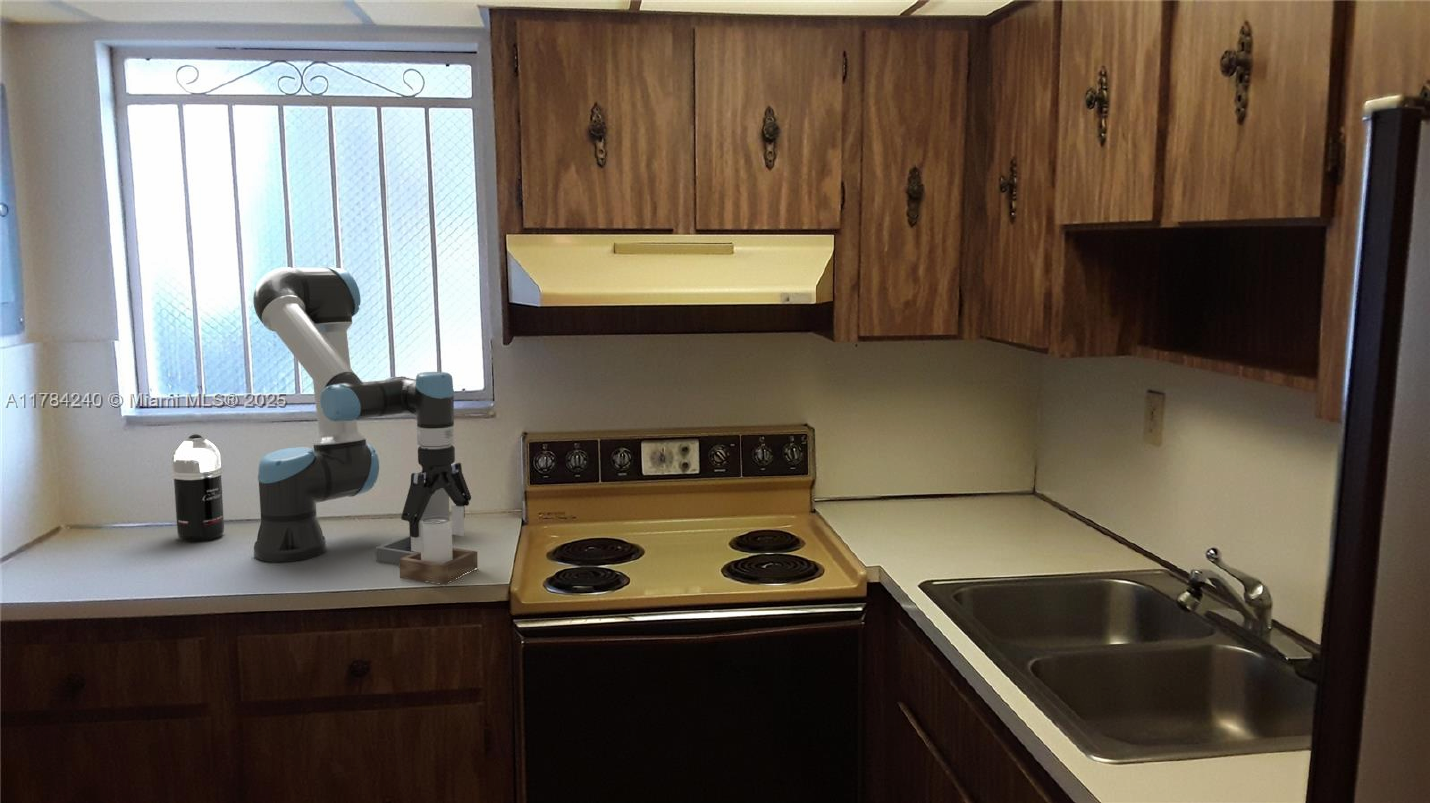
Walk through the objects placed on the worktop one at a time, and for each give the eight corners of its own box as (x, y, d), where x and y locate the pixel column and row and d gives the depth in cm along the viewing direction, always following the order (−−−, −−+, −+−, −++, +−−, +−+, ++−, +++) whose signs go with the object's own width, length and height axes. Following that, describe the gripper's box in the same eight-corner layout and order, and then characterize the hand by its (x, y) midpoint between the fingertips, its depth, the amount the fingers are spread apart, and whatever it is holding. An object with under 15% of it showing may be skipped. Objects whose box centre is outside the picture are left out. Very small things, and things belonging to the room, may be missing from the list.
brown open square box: (399, 577, 209) (399, 558, 209) (434, 562, 220) (434, 544, 219) (444, 584, 205) (443, 566, 205) (477, 569, 216) (477, 551, 215)
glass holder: (419, 540, 236) (417, 479, 234) (406, 526, 248) (404, 467, 246) (455, 536, 240) (454, 476, 238) (441, 522, 253) (439, 464, 250)
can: (443, 580, 208) (441, 524, 206) (415, 577, 210) (414, 522, 208) (458, 570, 214) (457, 517, 213) (431, 567, 216) (430, 514, 214)
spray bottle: (166, 540, 233) (159, 436, 229) (203, 529, 242) (197, 429, 239) (198, 545, 229) (192, 439, 225) (235, 534, 239) (229, 432, 235)
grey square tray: (376, 560, 220) (375, 547, 220) (409, 547, 230) (408, 535, 230) (416, 567, 216) (415, 554, 216) (447, 553, 226) (447, 541, 226)
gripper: (411, 457, 196) (414, 561, 199) (486, 437, 218) (487, 530, 222) (381, 454, 198) (384, 556, 202) (458, 434, 221) (460, 526, 224)
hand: (438, 542), depth 212 cm, fingers open, 13 cm apart
